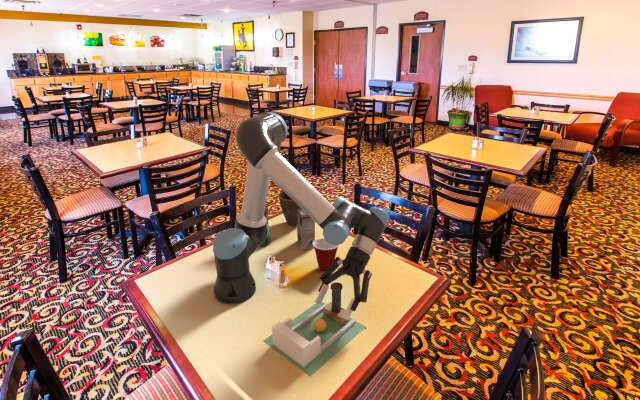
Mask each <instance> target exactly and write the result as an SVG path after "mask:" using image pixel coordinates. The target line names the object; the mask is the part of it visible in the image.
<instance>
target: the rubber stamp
mask: <svg viewBox="0 0 640 400" xmlns="http://www.w3.org/2000/svg"><path fill="white" fill-rule="evenodd" d="M330 290H331V301H330V302H328V303H326V304H327V305H326V306H324V307H323V315H325V316H326V317H328V318H330V319H331V320H333V321H335V322H336V323H338V324H340V325H341V326H342V325H343V324H344V323H346V322H347V321H348V320H349V319H348V320H346V319H344V318H342V317H343V315H344V313H345V311H346V308H343V307H342V290H343V284H342V283H341V282H339V281H338V282H335V281H334V282H331V283H330ZM349 318H351V316H350V317H349Z"/></svg>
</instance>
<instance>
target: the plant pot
mask: <svg viewBox="0 0 640 400" xmlns="http://www.w3.org/2000/svg"><path fill="white" fill-rule="evenodd" d="M277 197H278V200H279V204H280V208H281V211H282V214H283V217H284V219H285V221H286V223H287V225H288V226H291V227H297V214H296V210H298V209H302V208H301V207H300V206H298V205H297V204H296V203H295V202H294V201H293V200H292V199H291V198H290V197H289V196H288V195H287V194H286V193H285V192H284V191H283V190H282V191H281V192H280V193H278V196H277Z"/></svg>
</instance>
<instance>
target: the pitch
mask: <svg viewBox="0 0 640 400" xmlns="http://www.w3.org/2000/svg"><path fill="white" fill-rule="evenodd" d="M327 304H328V303H326V302H323V301H322V302H321V304H318V303H316V302H315V304H313V305H311V306H310V307H309V308H307V309H306V310H304V311H303V312H302V313H300V314H299V315H298V316H296V317H294V318H293V319H292V330H293V331H294V332H296V333H297V334H299V335H300V336H302V337H303V338H305V339H306V340H308V341H309V342H310V341H312V340H313V339H314V338H315V337H317V336H319V337H320V349H321V353H320V354H319V355H318V356H317V357H315V358H314V359H313V360H312V361H311V362H310V363H308V364H307V365H306V366H305V367H303V366H301V365H300V364H299V363H297V362H296V361H295V360H293V359H292V358H291V357H289V356H288V355H287V354H285V353H284V352H283V351H281V350H280V349H279V348H277V347H276V346H275V345H273V335H272V334H270V335H269V336H268V337H266V338H265V339H263V340H262V342H264V343H265V344H266V345H268V346H269V347H270V348H272V349H274V351H276V352H277V353H279V354H280V355H281V356H283V357H284V358H285V359H287V360H288V361H289V362H290V363H292V364H293V365H295V366H296V367H297V368H299V369H300V370H301V371H303V372H304V373H305V374H306V375H308V377H312V376H313V375H314V374H315V373H316V372H317V371H318V370H319V369H320V368H322V367H323V366H324V365H326V363H327V362H328V361H330V359H332V358H333V357H334V356H336V354H337V353H338V352H339V351H341V350H342V349H343V348H344V347H346V345H348V343H350V342H351V341H352V340H353V339H354V338H356V336H358V335H359V334H360V333H361V332H362V331H364V330H367V326H365V325H364V324H362V323H360V322H358V321H357V320H355V319H353V318H352V317H350V318H349V320H348V321H347V322H346V323H344V324H343V325H342V326H341V325H340V324H338V323H336V322H335V321H333V320H331V319H330V318H328V317H326V316H325V315H323V307H324V306H326V305H327ZM317 319H323V320H325V322H326V329H325V330H324V331H322V332H318V331H316V330H315V328H314V322H315V321H316V320H317Z"/></svg>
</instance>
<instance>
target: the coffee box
mask: <svg viewBox="0 0 640 400" xmlns="http://www.w3.org/2000/svg"><path fill="white" fill-rule="evenodd" d="M296 214H297V226H296V235H297V243H298V244H299V246H300V249H301V250H302V251H303V250H309V249H310V250H311V249H314V246H313V244H312V243H313V241H315V240H316V222H315V221H314V220H313V219H312V218H311V217H310V216H309V215H308V214H307V213H306V212H305V211H304V210H303V209H298V210H296Z"/></svg>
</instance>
